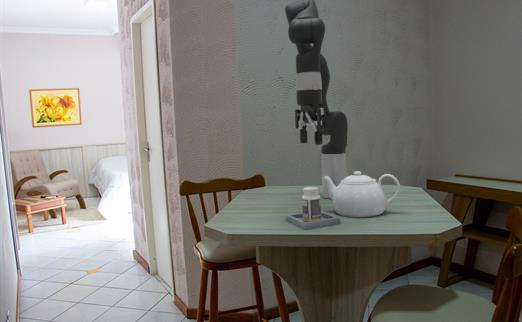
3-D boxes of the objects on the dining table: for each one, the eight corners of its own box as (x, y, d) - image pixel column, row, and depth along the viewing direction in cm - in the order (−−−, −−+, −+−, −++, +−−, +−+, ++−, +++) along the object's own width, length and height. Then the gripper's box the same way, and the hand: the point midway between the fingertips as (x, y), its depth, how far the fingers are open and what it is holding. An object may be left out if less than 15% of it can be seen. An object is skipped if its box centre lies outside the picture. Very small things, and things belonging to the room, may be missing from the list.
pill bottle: (321, 217, 132) (320, 186, 131) (321, 222, 126) (320, 189, 125) (303, 217, 133) (302, 186, 132) (301, 222, 127) (300, 189, 126)
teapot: (356, 222, 127) (355, 177, 126) (320, 211, 144) (319, 171, 142) (402, 213, 136) (401, 171, 134) (363, 203, 152) (362, 166, 151)
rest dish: (318, 215, 137) (318, 210, 137) (340, 223, 126) (339, 217, 126) (285, 220, 132) (285, 215, 132) (304, 229, 121) (304, 223, 121)
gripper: (286, 90, 130) (288, 143, 131) (310, 87, 117) (312, 146, 118) (307, 90, 133) (309, 141, 134) (333, 86, 120) (335, 143, 121)
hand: (311, 143), depth 126 cm, fingers open, 8 cm apart
